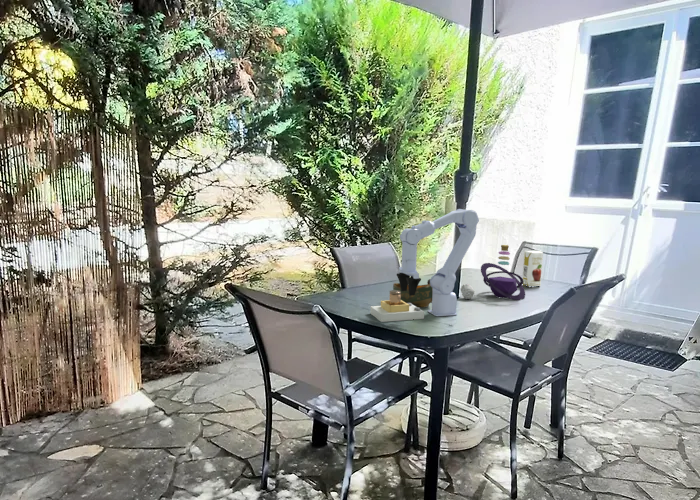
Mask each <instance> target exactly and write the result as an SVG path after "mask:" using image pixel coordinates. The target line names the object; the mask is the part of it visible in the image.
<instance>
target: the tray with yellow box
mask: <svg viewBox="0 0 700 500" xmlns="http://www.w3.org/2000/svg"><path fill="white" fill-rule="evenodd" d="M370 314H371V316H373V317H374V318H376V319H377V321H379V322H381V323H383V322H385V323H386V322H396V321H411V320H412V321H413V319H414V320H423V319H425V310H423V309H421V308H419V307H416V306H414V305H412V303H405V302H404V301H402V300H401V303H400V305H391V306H390V305H389V300H380V305H376V306H375V305H371V306H370Z"/></svg>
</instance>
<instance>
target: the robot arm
mask: <svg viewBox="0 0 700 500" xmlns="http://www.w3.org/2000/svg"><path fill="white" fill-rule="evenodd" d="M479 221H480V218H479V215H478V213H477V212H476V211H475V210H473V209H462V208H457V209H455V210H451V211H450V212H448V213H447V214H444V215H443V216H440V217H439V218H436V219H434V220H433V221H430V220H425V219H424V220H421V223H418V224H416V225H412V226H411V228H407V227H406V228H404V229H403V230H402V231H401V233H400V235H399V238H400V240H401V243H402V244H401V245H402V247H401V266H399V267H398V272H397V273H396V276H397V279H398V283H400V287H401V291H407V286H408V289H409V295H410V296H412V295H415V293H416V289H417V286H418V285H420V282H421V280H422V278H421V277H420V273H418V272H419V271H417V254H418V253H417V251H418V243H419V242H420V240H422V239H424V238H425V239H426V238H427V237H429V236H431V235H433V234H435V231H436V230H437V229H440V228H442V227H445V226H447V225H450V224H452V223H453V224H455V225H456V227H457V228H458V230H459V233H460V234H459V237H458V238H457V240H456V242H455V244H454V246H453V248H451V251H450V253H449V255H448V256H447V259H446V260H445V262H444V264H443V266H442V267H440V268H439V269H438V270H437V271H436V273H435V274H434V275H432V276H431V278H429V279H430V285H431V287H432V288H433V289H432V290H433V293H432V303H431V309H427V312H428V313H429V314H432V315H433V316H435V317H445V316H446V317H447V316H458V314H457V302H458V300H457V295H456V293H455V292H453V291H454V288H455V283H456V281H457V277H456V273H457V270H458V268H459V267H460V265H461V263H462V261H463V260H464V257H465V256H466V254H467V251H468V250H469V248H470V246H471V244H472V243H473V240H474V239H475V237H476V233H477V225H478V224H479Z"/></svg>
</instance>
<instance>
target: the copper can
mask: <svg viewBox="0 0 700 500" xmlns="http://www.w3.org/2000/svg"><path fill="white" fill-rule="evenodd" d="M400 303H401V291H398V290H393V289H391V290H389V305H390V306H391V305H400Z"/></svg>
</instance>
